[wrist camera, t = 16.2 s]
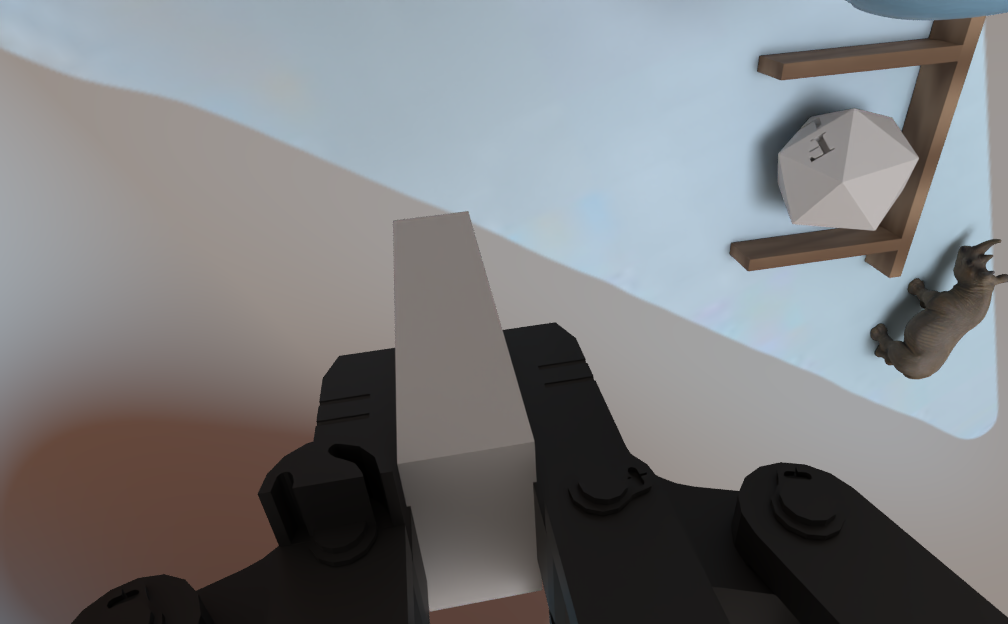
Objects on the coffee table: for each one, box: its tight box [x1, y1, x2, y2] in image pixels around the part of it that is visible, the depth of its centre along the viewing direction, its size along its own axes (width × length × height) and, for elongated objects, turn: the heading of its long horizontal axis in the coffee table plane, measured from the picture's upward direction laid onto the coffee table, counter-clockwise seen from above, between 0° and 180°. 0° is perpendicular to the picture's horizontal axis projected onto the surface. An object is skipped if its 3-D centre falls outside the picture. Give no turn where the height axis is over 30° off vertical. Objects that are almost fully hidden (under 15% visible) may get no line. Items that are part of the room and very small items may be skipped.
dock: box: [730, 16, 986, 278], centre depth 44 cm, size 20×14×3 cm
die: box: [778, 108, 919, 231], centre depth 42 cm, size 8×9×10 cm
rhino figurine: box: [871, 239, 1008, 379], centre depth 52 cm, size 4×14×6 cm, turn 158°
